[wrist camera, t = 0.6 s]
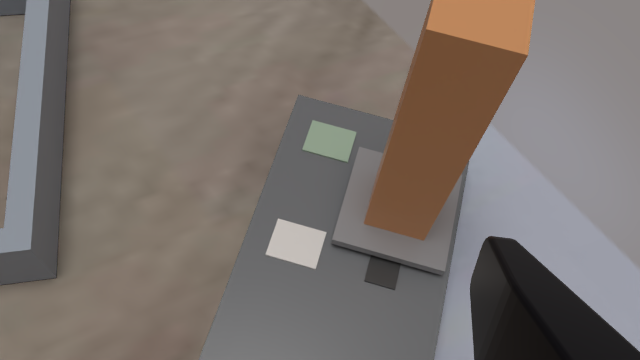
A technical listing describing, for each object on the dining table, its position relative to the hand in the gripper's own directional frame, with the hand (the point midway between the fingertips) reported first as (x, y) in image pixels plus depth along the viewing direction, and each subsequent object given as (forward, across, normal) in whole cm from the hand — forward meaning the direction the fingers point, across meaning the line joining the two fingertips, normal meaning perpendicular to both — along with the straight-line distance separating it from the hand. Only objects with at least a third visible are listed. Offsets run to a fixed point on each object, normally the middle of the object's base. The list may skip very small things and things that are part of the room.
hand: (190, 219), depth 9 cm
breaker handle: (+13, -5, +8) cm, 16 cm away
